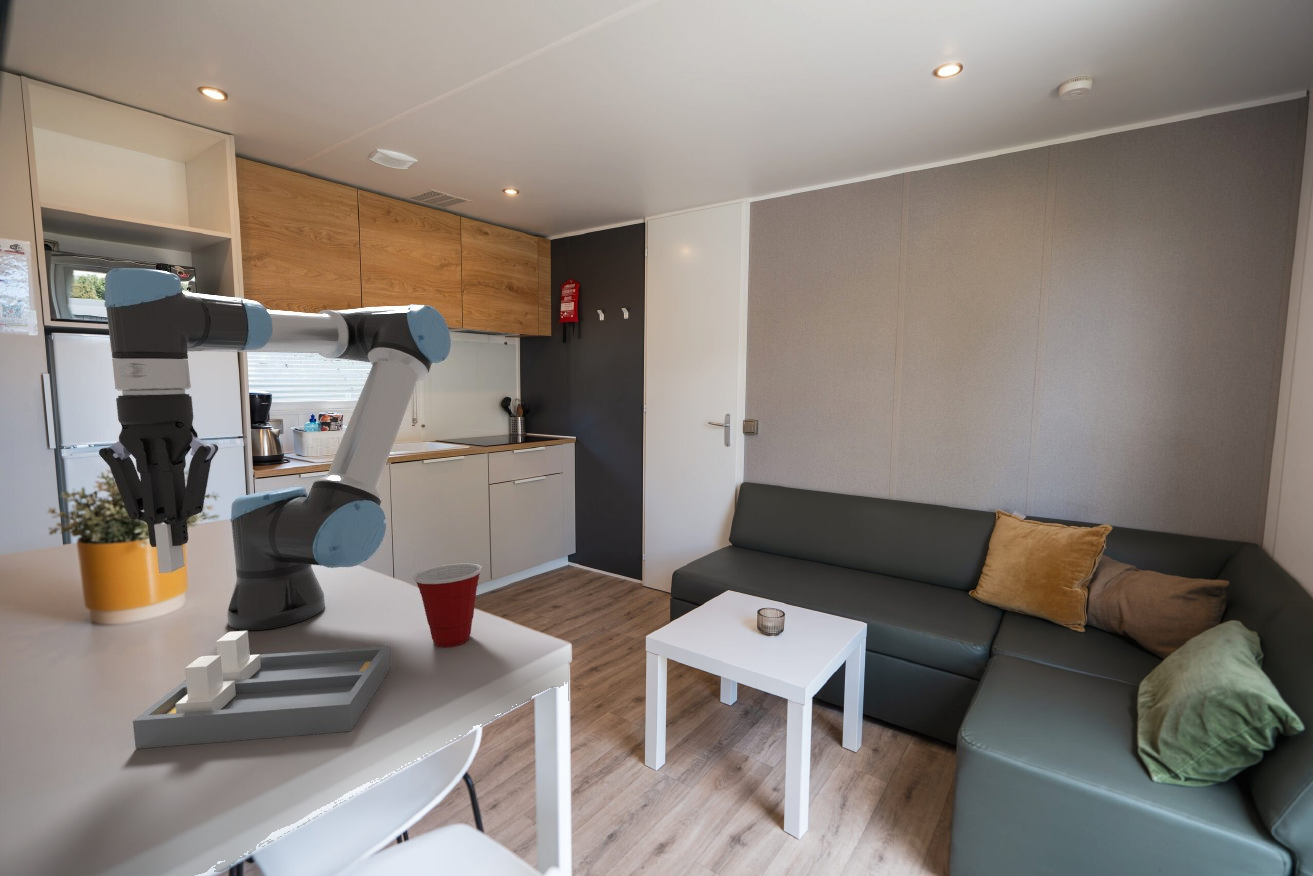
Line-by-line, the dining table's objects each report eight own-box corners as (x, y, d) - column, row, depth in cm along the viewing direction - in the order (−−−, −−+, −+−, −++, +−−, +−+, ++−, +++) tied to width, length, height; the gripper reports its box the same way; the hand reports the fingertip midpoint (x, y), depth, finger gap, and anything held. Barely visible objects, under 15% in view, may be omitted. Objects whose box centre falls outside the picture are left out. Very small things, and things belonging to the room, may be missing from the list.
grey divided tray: (216, 680, 86) (213, 657, 86) (390, 668, 89) (389, 646, 89) (135, 749, 70) (132, 720, 70) (351, 731, 74) (349, 704, 73)
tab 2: (230, 669, 85) (226, 629, 84) (260, 667, 85) (257, 627, 84) (209, 688, 80) (205, 645, 79) (241, 685, 80) (238, 642, 80)
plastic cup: (467, 620, 107) (465, 555, 105) (496, 640, 99) (494, 569, 98) (406, 638, 99) (402, 569, 98) (431, 661, 92) (428, 585, 90)
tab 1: (202, 697, 77) (198, 653, 77) (235, 695, 78) (232, 651, 77) (176, 719, 72) (172, 672, 72) (212, 716, 73) (208, 669, 72)
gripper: (74, 394, 73) (95, 582, 75) (192, 392, 74) (209, 576, 77) (119, 392, 80) (137, 563, 82) (225, 391, 82) (240, 558, 84)
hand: (172, 569), depth 80 cm, fingers closed
